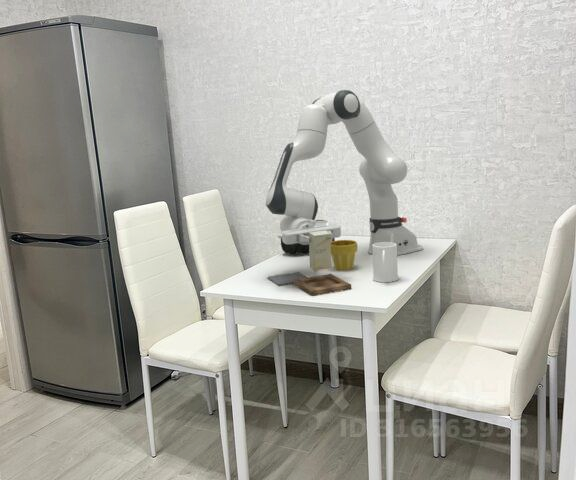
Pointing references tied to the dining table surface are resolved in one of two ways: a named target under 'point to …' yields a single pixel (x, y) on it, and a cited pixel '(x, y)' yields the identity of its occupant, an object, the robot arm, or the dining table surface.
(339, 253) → the plant pot
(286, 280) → the mat
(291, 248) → the squash
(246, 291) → the dining table surface
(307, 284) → the walnut tray
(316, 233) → the skincare box
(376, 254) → the mug
